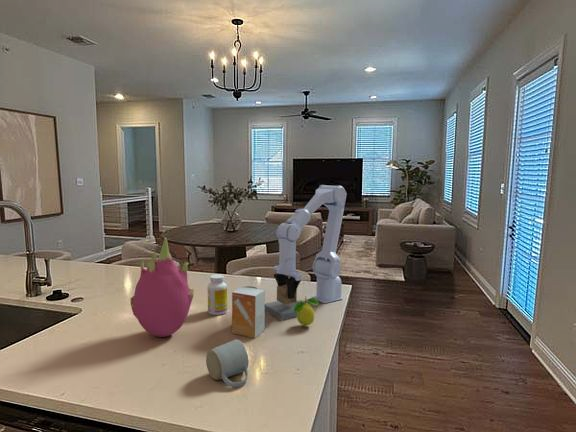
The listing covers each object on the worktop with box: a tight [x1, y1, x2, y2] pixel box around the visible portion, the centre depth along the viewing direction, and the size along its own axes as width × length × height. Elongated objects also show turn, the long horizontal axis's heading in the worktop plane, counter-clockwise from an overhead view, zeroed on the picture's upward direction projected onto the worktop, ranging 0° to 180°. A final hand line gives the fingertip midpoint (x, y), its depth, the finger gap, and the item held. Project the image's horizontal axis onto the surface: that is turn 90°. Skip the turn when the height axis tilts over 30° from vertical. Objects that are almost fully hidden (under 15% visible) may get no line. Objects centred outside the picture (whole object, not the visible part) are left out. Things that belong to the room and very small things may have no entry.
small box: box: [231, 286, 266, 339], centre depth 114 cm, size 8×6×13 cm
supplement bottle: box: [207, 274, 228, 316], centre depth 131 cm, size 7×7×13 cm
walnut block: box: [276, 285, 298, 304], centre depth 132 cm, size 5×5×5 cm
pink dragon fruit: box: [129, 236, 195, 338], centre depth 111 cm, size 18×14×30 cm
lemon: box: [294, 295, 319, 327], centre depth 120 cm, size 7×6×10 cm
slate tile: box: [265, 300, 300, 321], centre depth 133 cm, size 12×12×2 cm
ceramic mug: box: [205, 339, 250, 388], centre depth 89 cm, size 11×8×8 cm
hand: (287, 295), depth 132 cm, fingers closed on walnut block, 5 cm apart
